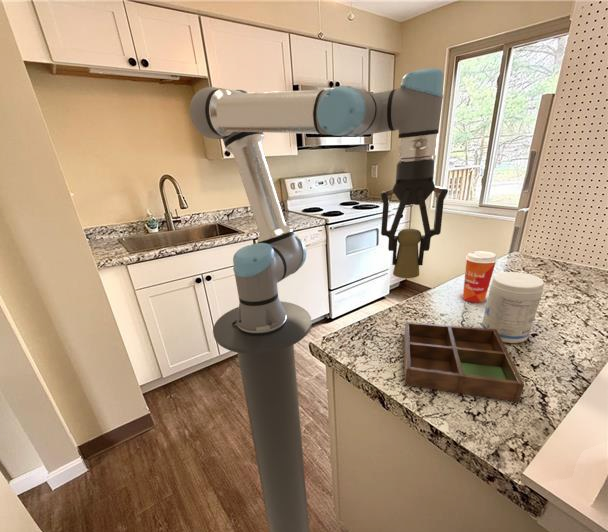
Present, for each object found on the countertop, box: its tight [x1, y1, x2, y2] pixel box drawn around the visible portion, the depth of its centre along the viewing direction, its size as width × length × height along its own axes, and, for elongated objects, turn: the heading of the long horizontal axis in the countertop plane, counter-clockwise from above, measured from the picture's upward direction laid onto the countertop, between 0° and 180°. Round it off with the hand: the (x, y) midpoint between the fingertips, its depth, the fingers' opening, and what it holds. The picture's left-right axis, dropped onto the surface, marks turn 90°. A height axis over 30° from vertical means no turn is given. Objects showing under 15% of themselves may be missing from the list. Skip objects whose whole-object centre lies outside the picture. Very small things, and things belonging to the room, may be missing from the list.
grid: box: [403, 321, 525, 403], centre depth 67 cm, size 19×19×4 cm
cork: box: [392, 228, 422, 279], centre depth 74 cm, size 6×6×11 cm
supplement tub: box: [480, 271, 545, 344], centre depth 73 cm, size 10×10×15 cm
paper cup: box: [462, 250, 498, 304], centre depth 91 cm, size 8×8×14 cm
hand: (406, 263), depth 75 cm, fingers closed on cork, 5 cm apart
